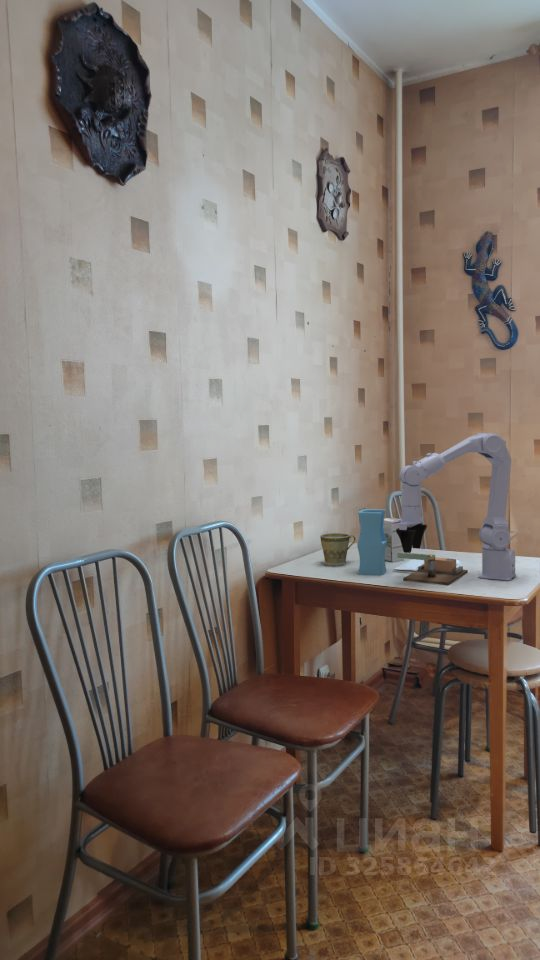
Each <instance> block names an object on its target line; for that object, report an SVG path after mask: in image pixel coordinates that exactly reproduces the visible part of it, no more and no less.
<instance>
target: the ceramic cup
mask: <svg viewBox="0 0 540 960" xmlns="http://www.w3.org/2000/svg"><path fill="white" fill-rule="evenodd" d="M319 537H320V543H321V547H322V551H323V556H324V562H325V565H326V566H328V567H329V566H330V567H340V566H344V565H346V563H347V555H348V550H350V548H351V546H352V545H354V544H355V542H356V536H355V535H353V534H351V535H350V534H348V533H343V532H341V533H340V532H329V533H328V532H327V533H322V534H320V536H319ZM351 538H353V542H352V543H351V544H350V539H351Z"/></svg>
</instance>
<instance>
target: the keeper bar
mask: <svg viewBox="0 0 540 960" xmlns="http://www.w3.org/2000/svg"><path fill="white" fill-rule="evenodd" d="M435 557H436V555H435V554H426V553H414V552H413V553H412V552H411V553H404V552H398V553H397V558H404V559H406V560H417V561H424V560H428V561H435Z"/></svg>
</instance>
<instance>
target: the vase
mask: <svg viewBox="0 0 540 960" xmlns="http://www.w3.org/2000/svg"><path fill="white" fill-rule="evenodd" d="M386 512H387V509H376V508H375V509H371V508H370V509H369V508H364V509H360V510H359V511H358V512H357V514H358V519H359V525H360V529H359V530H360V531H359V537H358V540H357V547H356V548H357V550H358V555H359V566H358V567H359V568H358V572H357V575H359V576H361V575H363V576H379V577H380V576H384V575H385V573H386V572H387V567H386V561H385V550H386V545H387V540H386V537H385V533H384V528H383V523H384V519H385V516H386Z"/></svg>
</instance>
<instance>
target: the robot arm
mask: <svg viewBox="0 0 540 960" xmlns="http://www.w3.org/2000/svg"><path fill="white" fill-rule="evenodd" d="M469 453H477V454H479V455H480V456H483V457H484V458H485V459H486V460H487V461H488V462H489V463H490V464H491V474H490V485H489V494H488V502H487V503H488V504H487V513H486V516H485V518H484V519H483V521H482V525H481V527H480V529H479V531H478V538H479V540H480V541H481V543H482V544H481V545H482V546H481V558H482V559H481V564H482V565H481V567H482V569H481V571H482V572H481V573H480V574H479V575H478V576H477V578H479V579H490V580H499V581H500V580H501V581H511V580H512V579H513V578H515V577H516V575H517V574H516V553H515V550H514V549H510V548H508V546H509V545H510V543H511V535H510V532H509V523H508V521H507V519H506V514H507V505H508V497H509V495H508V494H509V486H510V475H511V468H512V458H511V455H510V453H509V450H508V448H507V442H506V440H505V439H504V438H503V437H502V436H501V435H500V434H498V433H495V432H494V433H493V432H492V433H487V432H486V433H485V432H479V433H476V434H475V435H471V436H468V437H467V438H465V439H464V440H462V441H460V442H458V443H456V444H455V445H453V446H451V447H450V448H448V449H446V450H445V451H443V452H442V453H438V452H433V453H432V452H428V453H426V454H425V455H426V456H425V457H423V458H421V459H419V460H417V461H416V460H414V461H412V465H405V466H403V467H401V470H400V472H399V474H398V480H400V482H401V518H398V519H399V520H398V522H401V523H399V528H398V529H396V532H397V534H398V536H399V538H400V541H401V544H402V548H403V553H412V551H413V550H412V549H421V546H422V541H423V537H424V534H425V532H426V529H427V527H428V524H424V516H422V483H423V481H424V480H426V479H428V478H429V477H432V476H433V475H435V474H437V473H439V472H440V471H443V470H444V468H445V466H446V464H447V463H449V462H451V461H454V460H455V459H458V458H460V457H462V456H465V455H466V454H469Z"/></svg>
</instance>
